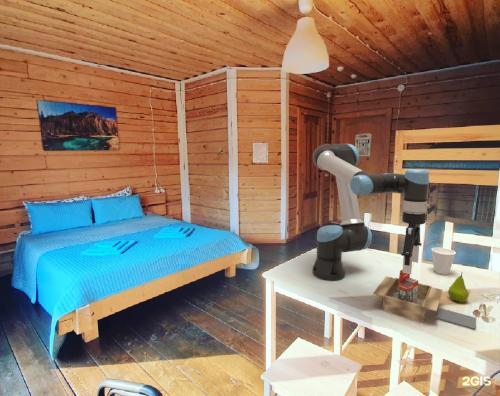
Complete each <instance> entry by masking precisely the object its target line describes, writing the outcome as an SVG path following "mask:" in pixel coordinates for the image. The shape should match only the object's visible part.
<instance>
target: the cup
mask: <svg viewBox="0 0 500 396" xmlns="http://www.w3.org/2000/svg"><path fill="white" fill-rule="evenodd" d="M430 250H431V256H432V263H433V264H432V265H433V272H434V273H435V274H438V275H442V276H443V275H444V276H446V275H449V274H450V272H451V270H452V269H451V268H452V265H453V262H454V259H455V256H456V254H457V252H456V251H455V250H453V249H450V248H447V247H432V248H430Z"/></svg>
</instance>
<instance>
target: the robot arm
mask: <svg viewBox="0 0 500 396" xmlns="http://www.w3.org/2000/svg"><path fill="white" fill-rule="evenodd" d="M359 160H360V154H359V150H358V149H357V147H356V146H355V145H353V144H351V143H324V144H321V145H319V146H317V148H315V150H314V152H313V154H312V161H313V164H314V165H315V166H316V167H317V168H318V169H319V170H323V171H327V172H329V173H331V174H332V175H333V176H335V179H336V180H335V181H336V187H337V193H338V195H337V196H338V201H339V209H340V214H341V223H340V224H339V225H338V224H337V225H336V224H332V225H331V224H329V225H324V226H320V228H318V230H317V232H316V259H315V260H314V264H313V266H312V274H313V276H314V277H316V278H318V279H320V280H324V281H332V282H333V281H340V280H343V279H344V278H345V277H346V271H345V267H344V264H343V260H342V257H343V253H348V252H349V253H350V252H356V251H357V252H359V251H362V250H363V251H364V250H366V249H368V248H369V247H370V245H371V244H372V241H373V234H372V230H371V229H370V227H369V226H367V225H365V221H364V220H363V219H361V213H360V209H359V208H360V207H359V201H358V196H367V195H380V194H401V195H403V201H402V211H403V212H402V217H401V218H402V219H401V221H402V222H403V223H405V224H408V225H407V227H406V228H405V235H404V242H403V248H402V250H403V251H402V252H401V254H400V255H401V256H402V257H403V259H402V260H403V262H402V270H403V273H407V274H410V275H412V267H413V263H417V264H418V263H419V256H420V254H419V253H420V252H419V251H420V247H422V242H421V225H424V224H426V221H427V214H426V212H427V208H428V207H429V206H430V205H429V203H428V192H429V185H430V175H429V171H428V170H427V169H417V168H416V169H406V170H405V173H404V174H403V173H394V172H385V173H382V174H381V173H380V174H370V173H369V172H366V171H364V170H362V169H360V168H359V167H357V165H358V163H359Z"/></svg>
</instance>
